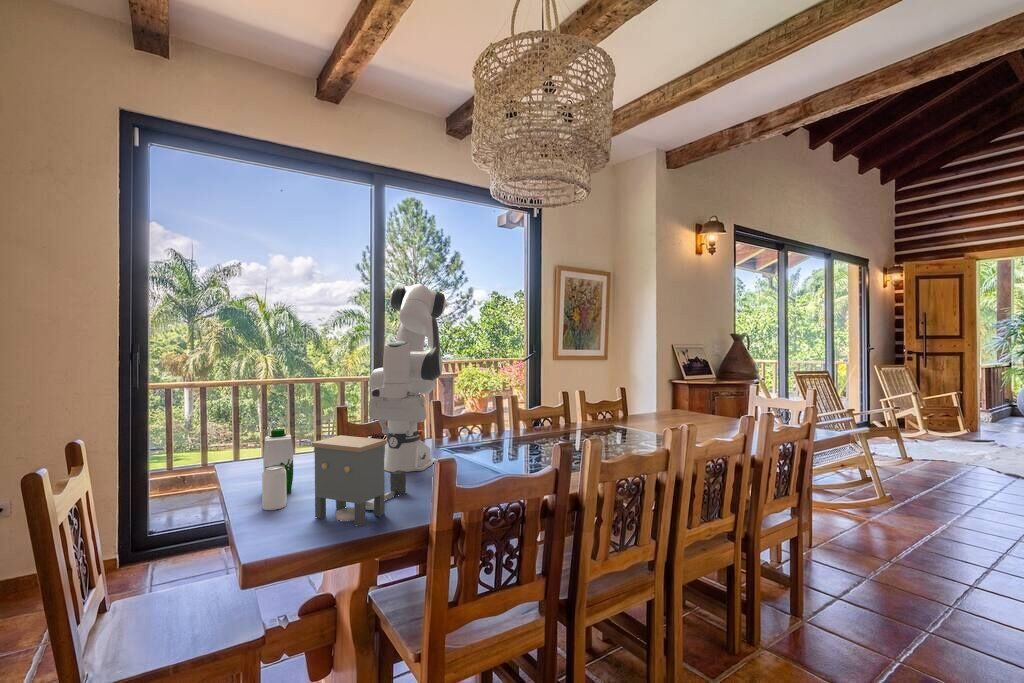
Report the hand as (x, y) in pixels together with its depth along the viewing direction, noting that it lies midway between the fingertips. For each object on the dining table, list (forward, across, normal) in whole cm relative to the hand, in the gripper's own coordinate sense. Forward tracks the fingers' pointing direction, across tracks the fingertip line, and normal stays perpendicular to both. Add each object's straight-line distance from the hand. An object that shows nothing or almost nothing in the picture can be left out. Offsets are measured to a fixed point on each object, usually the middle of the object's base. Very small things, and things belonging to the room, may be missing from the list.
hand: (397, 434), depth 161 cm
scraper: (+19, 0, +7) cm, 20 cm away
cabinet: (+19, 0, +22) cm, 29 cm away
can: (+19, +26, +25) cm, 41 cm away
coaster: (+19, 0, +23) cm, 30 cm away
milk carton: (+19, +37, +14) cm, 44 cm away
